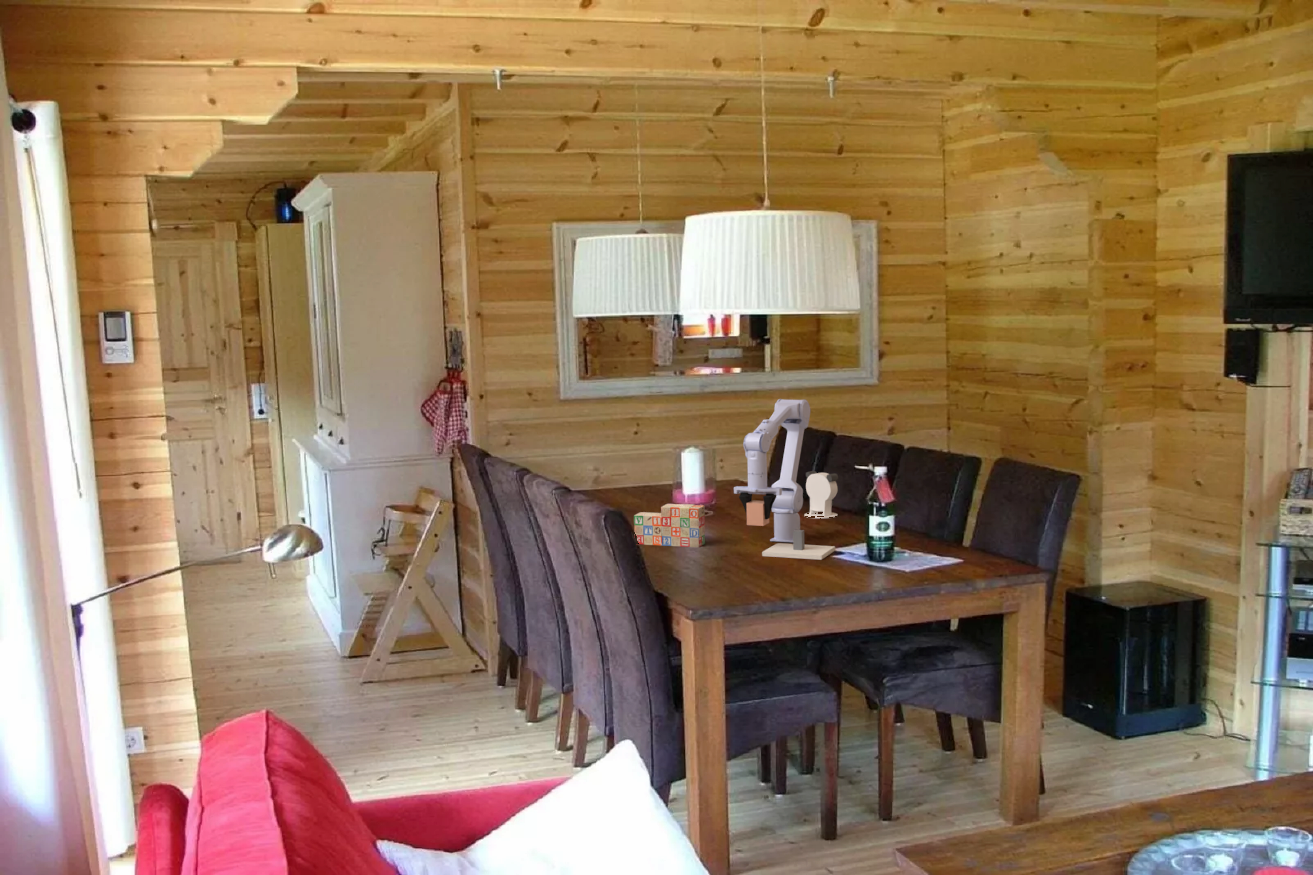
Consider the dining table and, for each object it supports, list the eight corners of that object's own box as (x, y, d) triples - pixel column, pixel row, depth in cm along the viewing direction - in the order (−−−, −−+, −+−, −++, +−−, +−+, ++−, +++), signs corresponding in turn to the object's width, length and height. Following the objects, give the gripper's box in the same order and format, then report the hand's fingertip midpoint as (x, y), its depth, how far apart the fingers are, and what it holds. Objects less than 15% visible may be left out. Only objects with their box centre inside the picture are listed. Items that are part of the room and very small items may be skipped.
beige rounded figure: (845, 515, 434) (845, 472, 432) (824, 519, 426) (823, 476, 425) (819, 511, 443) (818, 469, 441) (797, 516, 435) (797, 473, 433)
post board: (777, 546, 383) (777, 525, 382) (835, 550, 375) (834, 528, 374) (762, 556, 370) (761, 533, 369) (821, 559, 362) (821, 536, 362)
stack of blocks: (634, 544, 393) (633, 505, 391) (641, 540, 399) (640, 502, 397) (699, 547, 385) (698, 507, 384) (705, 543, 391) (704, 504, 390)
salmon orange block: (753, 521, 380) (752, 500, 379) (769, 522, 378) (768, 501, 377) (746, 525, 376) (746, 503, 375) (763, 525, 373) (762, 503, 373)
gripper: (729, 474, 375) (730, 519, 376) (775, 475, 368) (776, 521, 370) (738, 470, 381) (739, 515, 382) (783, 472, 375) (784, 517, 376)
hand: (758, 518), depth 377 cm, fingers closed on salmon orange block, 5 cm apart
